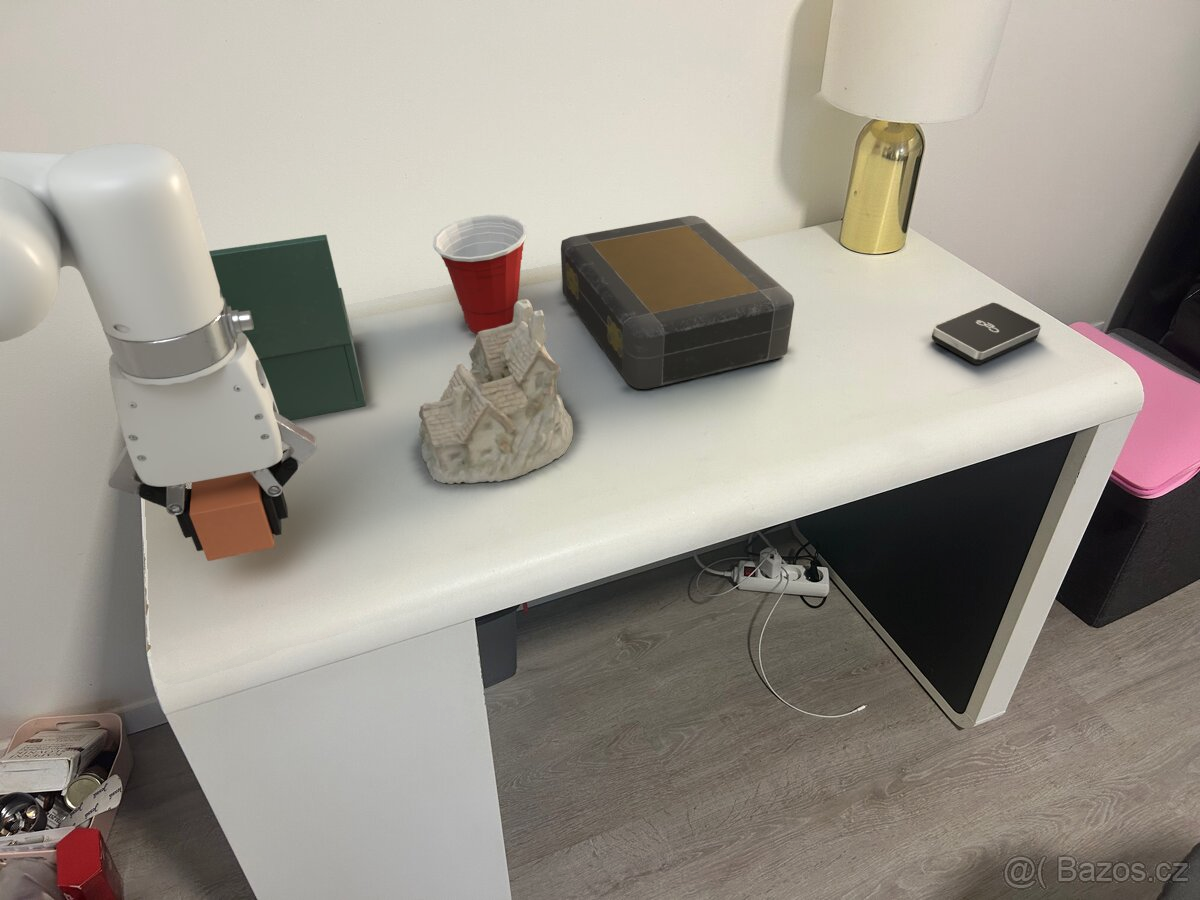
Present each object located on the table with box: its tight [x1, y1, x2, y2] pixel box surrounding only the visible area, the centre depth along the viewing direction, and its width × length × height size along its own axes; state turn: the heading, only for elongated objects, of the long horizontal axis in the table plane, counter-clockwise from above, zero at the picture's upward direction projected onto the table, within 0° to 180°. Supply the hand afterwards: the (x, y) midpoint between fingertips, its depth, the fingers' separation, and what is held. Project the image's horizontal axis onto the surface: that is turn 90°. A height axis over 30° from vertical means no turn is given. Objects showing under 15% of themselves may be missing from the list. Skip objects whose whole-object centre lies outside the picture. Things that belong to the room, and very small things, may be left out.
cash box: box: [560, 215, 795, 390], centre depth 101 cm, size 25×20×8 cm
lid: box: [209, 234, 351, 358], centre depth 79 cm, size 13×12×1 cm
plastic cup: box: [432, 214, 528, 334], centre depth 100 cm, size 11×11×12 cm
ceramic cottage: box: [418, 298, 574, 485], centre depth 82 cm, size 16×16×15 cm
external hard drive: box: [931, 301, 1042, 365], centre depth 99 cm, size 7×11×2 cm, turn 122°
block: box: [190, 472, 275, 562], centre depth 67 cm, size 5×5×5 cm
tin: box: [258, 287, 367, 421], centre depth 91 cm, size 13×12×8 cm
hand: (239, 529), depth 68 cm, fingers closed on block, 5 cm apart
